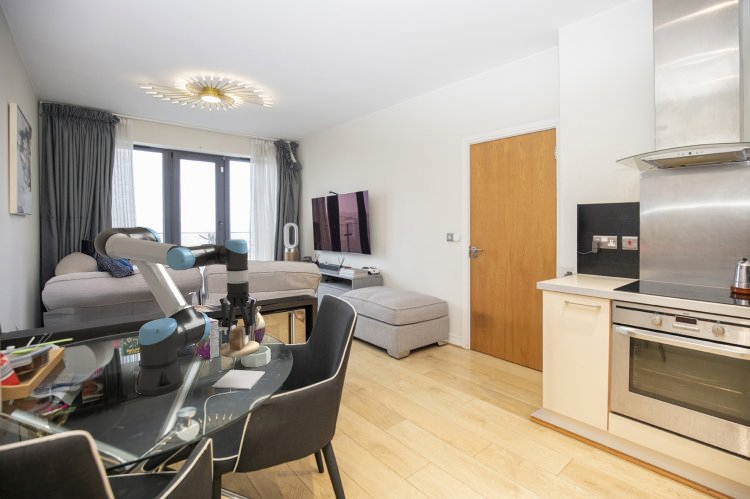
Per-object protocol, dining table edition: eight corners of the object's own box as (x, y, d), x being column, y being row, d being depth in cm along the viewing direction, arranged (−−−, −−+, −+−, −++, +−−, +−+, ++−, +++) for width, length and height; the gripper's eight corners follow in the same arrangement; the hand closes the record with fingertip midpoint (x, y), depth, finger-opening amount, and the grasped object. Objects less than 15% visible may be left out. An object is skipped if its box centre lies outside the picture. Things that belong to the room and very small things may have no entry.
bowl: (237, 366, 149) (237, 354, 149) (249, 356, 160) (248, 345, 160) (263, 367, 148) (263, 355, 148) (273, 357, 159) (273, 346, 159)
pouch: (263, 354, 163) (263, 312, 161) (244, 355, 161) (243, 313, 159) (267, 335, 187) (266, 299, 185) (250, 336, 185) (249, 300, 183)
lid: (211, 356, 130) (210, 334, 129) (230, 342, 143) (230, 322, 143) (249, 358, 128) (248, 335, 128) (265, 344, 142) (264, 323, 141)
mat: (212, 387, 131) (212, 386, 131) (230, 370, 145) (230, 369, 145) (249, 389, 130) (249, 388, 129) (265, 372, 143) (265, 371, 143)
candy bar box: (194, 354, 161) (193, 318, 160) (204, 351, 165) (203, 315, 164) (209, 360, 155) (208, 322, 154) (220, 356, 159) (219, 319, 158)
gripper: (264, 280, 136) (265, 340, 139) (220, 279, 138) (222, 339, 140) (255, 283, 129) (257, 347, 131) (210, 282, 131) (212, 346, 133)
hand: (239, 343), depth 136 cm, fingers closed on lid, 4 cm apart
